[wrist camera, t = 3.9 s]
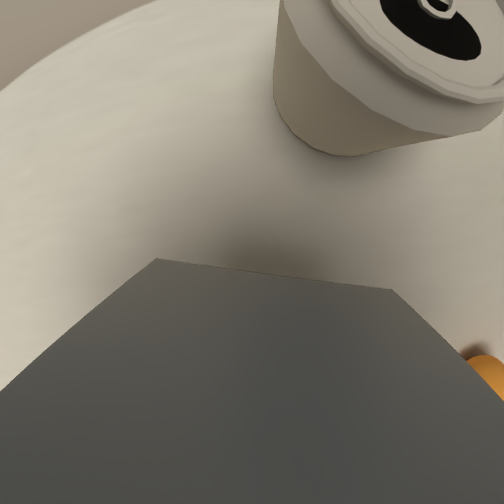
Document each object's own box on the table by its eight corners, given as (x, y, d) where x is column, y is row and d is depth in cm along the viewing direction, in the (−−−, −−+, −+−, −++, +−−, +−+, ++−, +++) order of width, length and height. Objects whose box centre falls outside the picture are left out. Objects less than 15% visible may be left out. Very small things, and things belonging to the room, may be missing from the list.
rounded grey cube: (392, 289, 9) (582, 500, 1) (334, 450, 11) (369, 630, 3) (156, 258, 9) (-79, 473, 1) (157, 431, 11) (91, 610, 3)
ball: (496, 343, 19) (530, 373, 14) (473, 393, 20) (500, 427, 15) (454, 343, 19) (488, 379, 14) (430, 397, 20) (456, 437, 15)
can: (262, 144, 17) (260, 70, 5) (281, 27, 15) (298, -126, 3) (390, 170, 17) (552, 173, 5) (401, 56, 15) (521, -34, 3)
